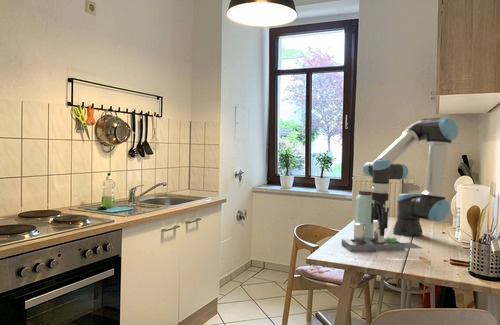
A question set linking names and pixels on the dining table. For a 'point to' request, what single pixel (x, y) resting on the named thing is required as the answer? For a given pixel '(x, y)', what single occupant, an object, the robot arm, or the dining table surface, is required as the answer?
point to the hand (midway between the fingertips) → (378, 240)
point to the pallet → (371, 245)
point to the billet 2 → (375, 230)
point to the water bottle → (364, 211)
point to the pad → (411, 245)
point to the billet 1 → (359, 233)
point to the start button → (391, 240)
